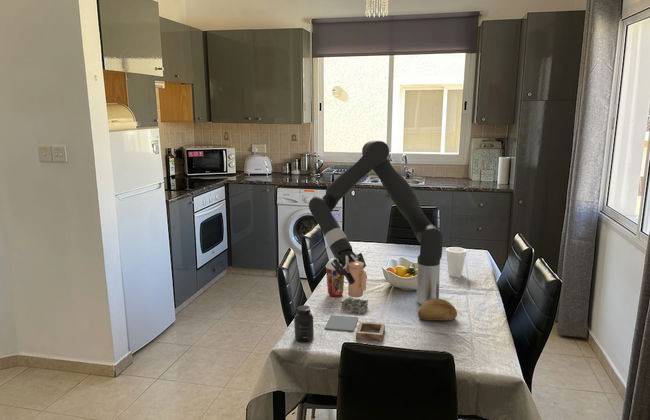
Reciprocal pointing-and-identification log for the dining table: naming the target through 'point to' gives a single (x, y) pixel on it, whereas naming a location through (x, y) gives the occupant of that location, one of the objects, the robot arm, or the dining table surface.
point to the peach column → (357, 279)
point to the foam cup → (455, 261)
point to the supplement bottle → (303, 324)
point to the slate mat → (341, 323)
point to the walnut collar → (370, 335)
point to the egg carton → (357, 303)
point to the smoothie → (334, 280)
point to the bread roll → (437, 310)
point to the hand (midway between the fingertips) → (359, 281)
